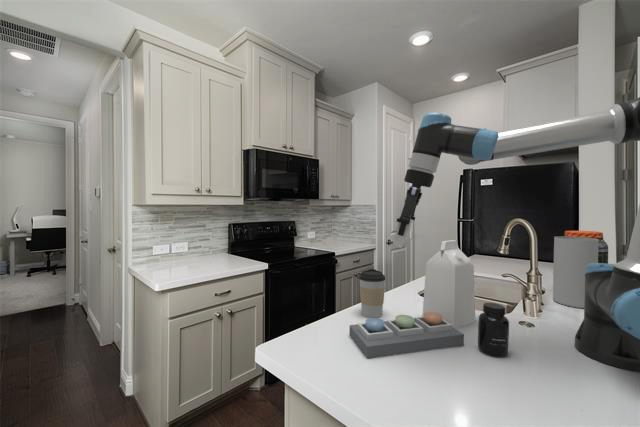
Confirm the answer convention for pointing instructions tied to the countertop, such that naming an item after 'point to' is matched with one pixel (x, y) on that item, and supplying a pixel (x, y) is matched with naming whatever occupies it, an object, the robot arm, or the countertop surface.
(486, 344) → the supplement bottle
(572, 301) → the cylinder vase
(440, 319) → the button terracotta
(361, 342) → the panel
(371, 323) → the button slate
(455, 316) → the milk
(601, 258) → the supplement tub
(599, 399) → the countertop surface
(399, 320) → the button sage
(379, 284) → the coffee cup
